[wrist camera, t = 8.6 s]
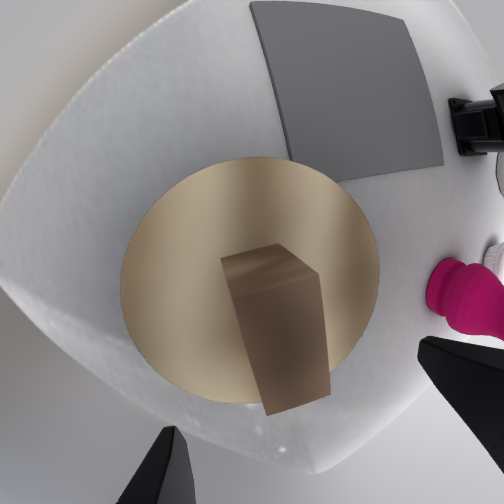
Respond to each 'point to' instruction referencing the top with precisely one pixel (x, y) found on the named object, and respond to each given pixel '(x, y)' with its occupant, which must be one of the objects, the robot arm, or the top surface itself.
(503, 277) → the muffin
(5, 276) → the top surface
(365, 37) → the mat
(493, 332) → the pepper mill
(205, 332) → the lid
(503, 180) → the flask
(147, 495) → the robot arm
